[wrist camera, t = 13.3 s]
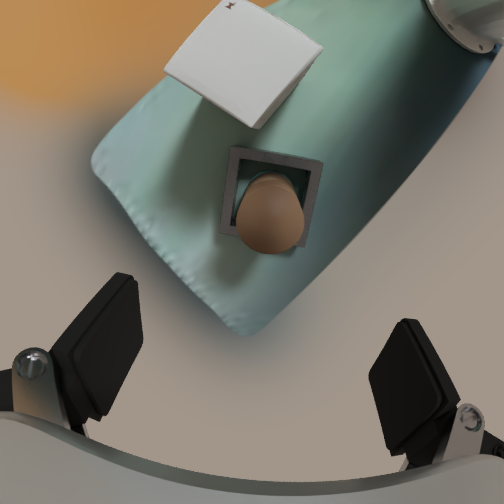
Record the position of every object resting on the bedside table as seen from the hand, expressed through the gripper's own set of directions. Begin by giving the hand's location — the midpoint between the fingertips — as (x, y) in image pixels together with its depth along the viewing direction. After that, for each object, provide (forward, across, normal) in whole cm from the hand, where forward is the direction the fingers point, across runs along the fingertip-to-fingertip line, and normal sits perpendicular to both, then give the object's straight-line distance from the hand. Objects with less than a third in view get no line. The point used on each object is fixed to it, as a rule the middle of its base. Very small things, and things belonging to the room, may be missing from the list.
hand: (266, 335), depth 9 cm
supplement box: (+22, +4, -11) cm, 25 cm away
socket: (+22, 0, 0) cm, 22 cm away
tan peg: (+22, 0, 0) cm, 22 cm away
